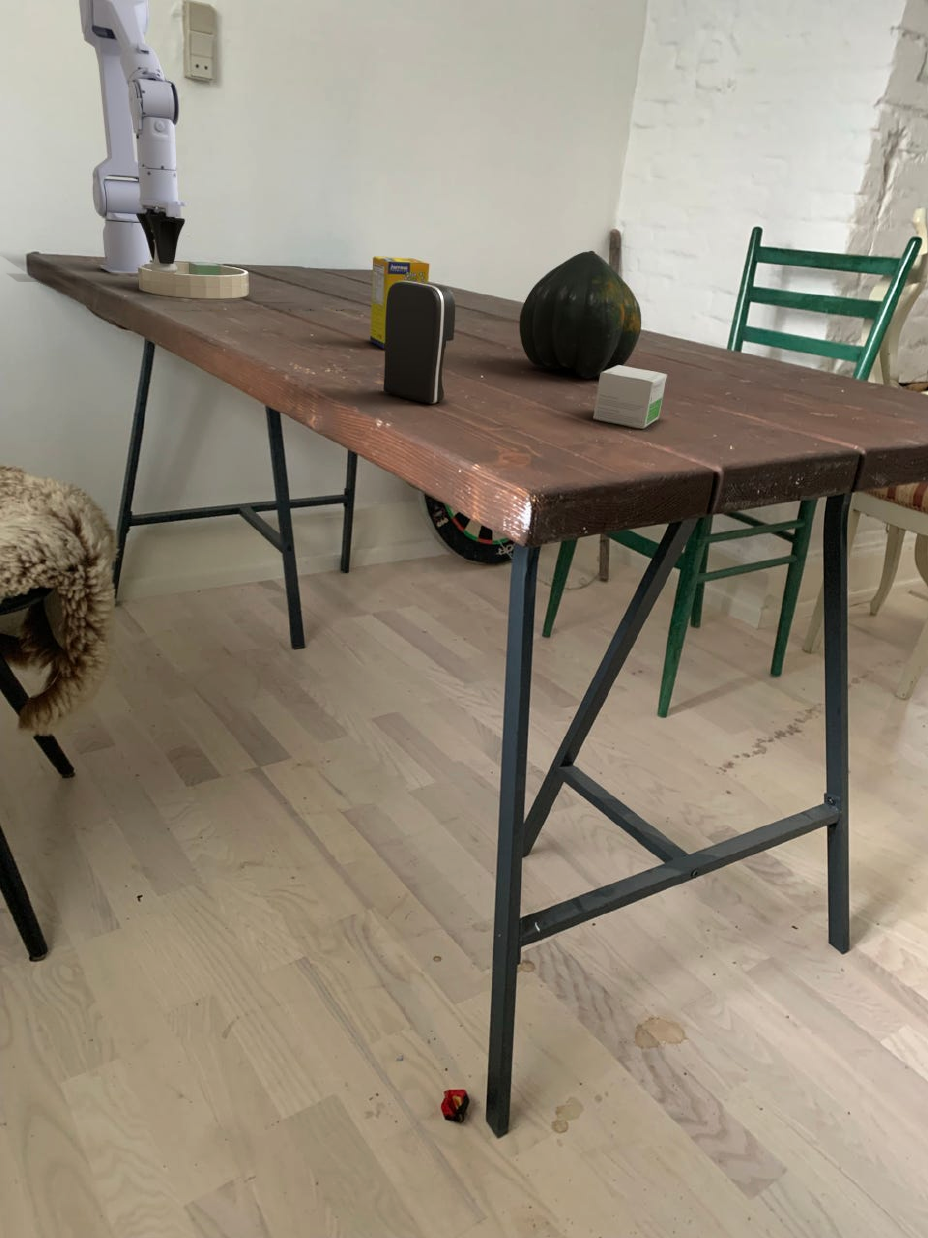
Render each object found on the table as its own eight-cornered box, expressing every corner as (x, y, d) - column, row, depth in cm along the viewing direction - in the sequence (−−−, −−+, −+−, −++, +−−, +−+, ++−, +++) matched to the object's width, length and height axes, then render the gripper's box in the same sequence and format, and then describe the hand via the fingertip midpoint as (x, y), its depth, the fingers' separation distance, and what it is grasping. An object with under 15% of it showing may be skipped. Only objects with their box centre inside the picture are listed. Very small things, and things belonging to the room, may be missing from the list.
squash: (565, 340, 103) (636, 236, 104) (479, 323, 113) (545, 228, 114) (617, 416, 113) (681, 319, 114) (534, 394, 123) (594, 306, 124)
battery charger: (454, 401, 95) (463, 286, 90) (430, 406, 92) (438, 287, 87) (403, 388, 99) (409, 277, 94) (380, 392, 96) (385, 278, 91)
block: (189, 287, 152) (188, 261, 150) (212, 287, 154) (212, 262, 152) (197, 290, 149) (196, 264, 147) (221, 290, 151) (220, 265, 149)
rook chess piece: (148, 275, 149) (144, 222, 146) (176, 276, 151) (173, 224, 147) (152, 278, 145) (148, 224, 142) (181, 279, 147) (178, 226, 144)
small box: (645, 430, 91) (653, 380, 89) (591, 419, 93) (598, 370, 91) (660, 419, 95) (669, 372, 93) (608, 410, 97) (616, 363, 95)
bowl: (126, 286, 151) (124, 260, 149) (226, 287, 160) (225, 263, 158) (158, 302, 138) (156, 274, 136) (264, 302, 147) (264, 276, 146)
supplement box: (425, 350, 120) (430, 262, 116) (382, 349, 118) (385, 260, 113) (411, 342, 125) (415, 257, 121) (369, 341, 123) (372, 255, 118)
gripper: (198, 173, 138) (202, 268, 144) (168, 168, 148) (173, 257, 154) (151, 169, 134) (157, 267, 140) (124, 165, 145) (131, 256, 151)
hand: (163, 261), depth 147 cm, fingers closed on rook chess piece, 3 cm apart
